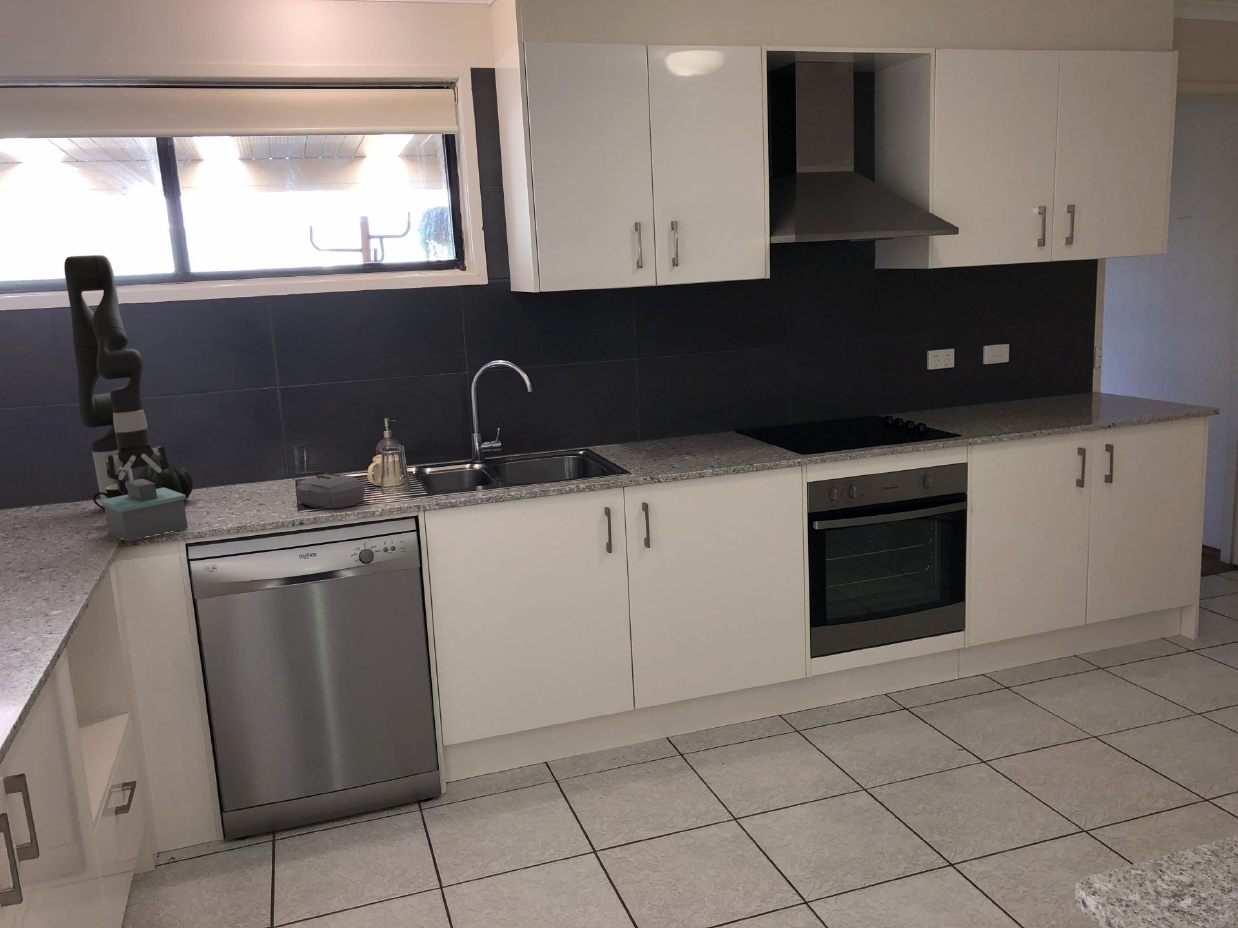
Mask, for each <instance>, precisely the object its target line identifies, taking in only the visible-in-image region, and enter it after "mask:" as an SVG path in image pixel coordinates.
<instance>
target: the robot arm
mask: <svg viewBox="0 0 1238 928" xmlns="http://www.w3.org/2000/svg"><path fill="white" fill-rule="evenodd" d="M63 267H64V268H63V269H64V277H65V282H66V289H67V294H68V300H69V301H68V302H69V306H70V314H71V326H72V341H73V352H74V357H75V364H76V365H75V366H76V372H77V391H78V393H77V394H78V396H77V397H78V413H79V419H80V421H81V424H82V426H84V427H85V428H88V429H89V428H91V429H93V428H99V427H107V426H110V429H109V431H107V432H106V433H105V434H103V435H102V436H100V437H98V438H95V439H93V440H92V441H91V444H90V445H91V452H92V456H93V457H92V458H93V463H94V466H95V467H94V468H95V475H96V479H97V484H98V485H97V486H98V490H99V493H100V492H103V493H107V492H106V487H108V486H111V485H115V484H118V490H119V491H120V492H122V494H127V490H126V484H125V483H126V482H127V481H133V480H134V475H133V470H132V469H137V468H139V467H141V468H144V467H145V466H146V465H148V466H149V467H150V468H152V469H153V470H154V471H155V473H154V477H155V483H156V486H157V487H161V484H163V478H162V471H163V470H165V469H168V467H169V466H168V462H167V461H168V458H167V453H166V450H165V447H164V446H161V445H158V446H156V447H152V446H151V441H150V436H149V435H150V434H149V429H148V422H147V418H146V417H147V416H146V414H145V411H144V407H143V400H142V391H141V390H142V389H141V387H142V385H141V383H142V375H143V369H144V359H143V355H142V354H141V353H140V352H139V351H138V350H136V349H134V348H128V349H126V347H127V346H128V343H129V341H128V336H127V333H126V332H127V331H126V329H125V326H124V322H123V320H122V316H121V311H120V304H119V297H118V291H117V286H116V279H115V275H114V270H113V267H112V264H111V262H110V260H109V258H108V257H107V256H105V255H103V254H102V255H101V254H96V255H95V254H93V255H92V254H91V255H72V256H71V255H70V256H68V257H65V260H64V265H63ZM95 291H103V293H102V294H103V295H102V297H101V300H100V302H99V304H98V306H97V307H96V309H95V311H93V310H92V309H91V308H90V307H89V305H88V304H87V302H86V300H85V299H84V297H83V292H95ZM100 377H101V378H103V379H104V380H116V379H118V380H119V379H125V378H129V379H128V382H127V383H126V384H125V385H123V386H121V387H120V386H119V387H117V388H114V389H112V390H111V391H110V392H108V393H107V392H106V393H98V394H97V393H96V394H94V390H95V387H96V384H97V382H98V380H99V379H100ZM154 454H155V455H156V456H158V457H157V458H158V459H159V461H160V466H157V465H156V463H154V462H153V461H152V460H151V458H152V457H153V455H154ZM99 496H100V501H101V500H103V499H108V498H107V497H106V496H105V495H102V494H100V495H99ZM101 506H103V507H104V505H103V504H101ZM102 510H103V511H105V510H104V509H102Z"/></svg>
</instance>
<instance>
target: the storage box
mask: <svg viewBox="0 0 1238 928" xmlns="http://www.w3.org/2000/svg"><path fill="white" fill-rule="evenodd" d="M184 501H185V500H178V501H173V502H168V503H163V504H158V505H154V506H149V507H144V508H139V509H134V510H129V511H125V512H119V511H116V510H114V509H112V508H110V507H107V506H105V505H104V507H105V510H104V511H105V512H104V513H105V517H106V518H105V519H106V523H107V528H108V534H109V535H111V536H113V537H116V538H118V537H119V538H118V539H120V538H123V539H124V540H125V541H126V542H125V541H124V542H125V543H132V542H135V540H136V541H138V540H137V539H138V538H144V537H146V536H153V535H156V534H163V533H165V532H171V531H176V532H178V531H177V530H180V529H185V530H187V529H186V528H188V529H189V525H188V520H187V514H186V513H187V511H186V507H185V502H184ZM180 531H181V530H180ZM163 535H164V534H163Z"/></svg>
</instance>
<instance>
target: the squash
mask: <svg viewBox="0 0 1238 928" xmlns="http://www.w3.org/2000/svg"><path fill="white" fill-rule="evenodd" d="M151 460H152V461H153V462H154V463H156V465H157V466H160V461H159V457H157V458H156V457H153V458H152V457H151ZM167 462H168V466H169V467H168V469H165V470H163V471H162V478H163V484H161V487H157V486H156V483H155V477H154V473H155V471H154V470H153V469H152V468H150V467H149V466H148V465H146V466H144V467H143V468H142V471H141V472H140V474H139V476H138V478H137V480H138V479H144V480H147V481H150V482H153V483H155V487H156V489H159V488H167V489H170V490H173V491H175V492H178V493H181V494H184V495H186V499H183V500H184V501H186V500H187V499H188V498H189V497H190V495H191V493H192V492H193V487H194V486H193V485H194V484H193V478H192V476H191V474H190V472H189V471H188V469H186V467H184V466H182V465H180V464H178V463H176V462H173V461H171V460H167Z"/></svg>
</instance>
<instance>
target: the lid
mask: <svg viewBox="0 0 1238 928" xmlns="http://www.w3.org/2000/svg"><path fill="white" fill-rule="evenodd" d="M126 484H127V490H128V495H123V496H118V497H113V498H108V499H103V500H101V499H100V504H101V505H102V504H103V505H105V506H107V507H110V508H112V509H114V510H116V511H119V512H125V511H129V510H134V509H139V508H144V507H149V506H154V505H158V504H163V503H168V502H173V501H178V500H183V499H186V495H184V494H181V493H178V492H175V491H173V490H170V489H167V488H159V489H156V487H155V483H153V482H150V481H147V480H144V479H138V478H137V479H133V481H127V482H126ZM186 500H187V499H186Z"/></svg>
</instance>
